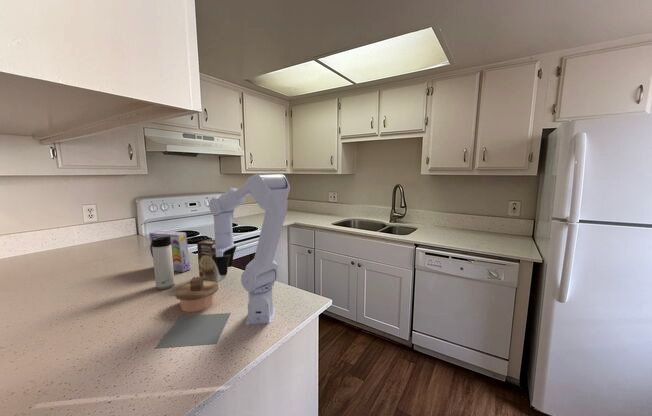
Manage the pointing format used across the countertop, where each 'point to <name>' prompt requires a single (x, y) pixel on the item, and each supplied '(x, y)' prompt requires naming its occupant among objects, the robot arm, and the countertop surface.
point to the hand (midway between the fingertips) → (226, 270)
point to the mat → (195, 330)
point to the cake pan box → (175, 248)
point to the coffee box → (208, 261)
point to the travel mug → (163, 263)
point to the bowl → (197, 304)
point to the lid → (196, 289)
